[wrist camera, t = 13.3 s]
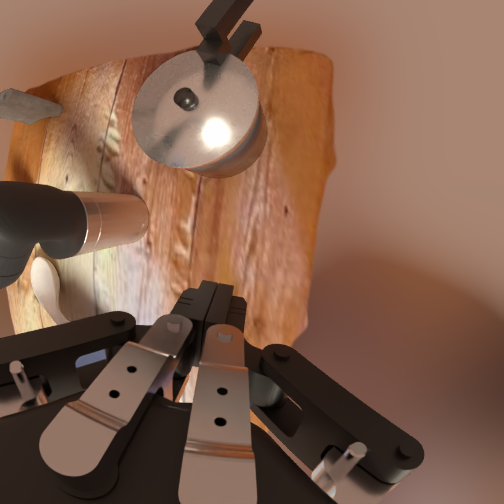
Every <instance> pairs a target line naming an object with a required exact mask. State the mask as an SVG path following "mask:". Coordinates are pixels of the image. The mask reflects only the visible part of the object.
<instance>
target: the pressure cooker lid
mask: <svg viewBox="0 0 504 504" xmlns="http://www.w3.org/2000/svg"><path fill="white" fill-rule="evenodd" d="M253 1H254V0H213V1H212V3H211V4H210V5H209V6H208V7H207V9H206V10H205V11H204V12H203V14H202V15H201V16H200V18H199V19H198V20H197V22H196V23H195V25H196V26H197V28H198V30H199V31H200V33H201V35H202V36H203V38H204V40H203V41H202V42H201V44H200V45H199V47H198V48H197V50H193V51H188V52H185V53H182V54H179V55H177V56H175V57H173V58H171V59H169V60H167V61H166V62H165V63H163V64H162V65H160V66H159V67H158V68H157V69H156V70H155V71H154V72H153V73H152V74H151V75H150V76H149V77H148V78H147V79H146V81H145V82H144V84H143V85H142V87H141V88H140V90H139V92H138V94H137V97H136V100H135V102H134V107H133V112H132V127H133V132H134V135H135V138H136V140H137V142H138V145H139V146H140V147H141V149H142V150H143V151H144V152H145V153H146V154H147V155H148V156H149V157H150V158H152V159H153V160H155V161H157V162H159V163H161V164H164V165H167V166H170V167H174V168H179V169H194V168H200V167H205V166H208V165H211V164H213V163H215V162H217V161H220V160H222V159H223V158H225V157H226V156H228V155H229V154H231V153H232V152H233V151H234V150H236V149H237V148H238V147H239V146H240V145H241V144H242V143H243V141H244V140H245V139H246V138H247V136H248V135H249V133H250V132H251V130H252V128H253V126H254V124H255V121H256V119H257V115H258V111H259V92H258V88H257V85H256V82H255V79H254V76H253V75H252V73H251V71H250V70H249V68H248V67H247V66H246V65H245V64H244V63H243V62H242V61H241V60H240V59H238V58H237V57H235V56H233V55H231V54H229V53H230V51H231V50H232V48H231V46H230V43H229V41H228V39H227V36H228V34H229V33H230V31H231V30H232V29H233V27H234V26H235V24H236V23H237V22H238V20H239V19H240V18H241V16H242V15H243V14H244V12H245V11H246V10H247V8H248V7H249V6H250V4H251V3H252V2H253Z"/></svg>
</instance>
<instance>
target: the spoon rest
mask: <svg viewBox="0 0 504 504" xmlns="http://www.w3.org/2000/svg"><path fill="white" fill-rule="evenodd" d="M31 283H32V287H33V290H34V293H35V295H36V297H37V299H38V300H39V302H40V303H41V305H42V306H43V307H44V308H45V310H46V311H47V312H48V314H49V315H50V316H51V318H52V319H53V320H54V321H55V322H56V324H57V325H60V324H64V323H68V322H70V321H69V320H67V319H66V318H65V317H64V316H63V315H62V313H61V311H60V309H59V304H58V301H59V292H60V280H59V276H58V274H57V271H56V269H55V267H54V266H53V265H52V263H51V262H50V261H49V260H47V259H46V258H44V257H41V256H39V257H36V258H35V259H34V261H33V263H32V266H31Z"/></svg>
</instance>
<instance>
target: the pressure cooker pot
mask: <svg viewBox="0 0 504 504" xmlns="http://www.w3.org/2000/svg"><path fill="white" fill-rule="evenodd" d="M261 34H262V31H261V27H260V24H257V23H254V22H250V21H245V20H243V22H242V23H241V24H240V26H239V27H238V29H237V30H236V31H235V32H234V34H233V36H232V37H231V38H230V40H229V43H230V46H231V48H232V50H231V51H230V53H229V54H231V55H233V56H235V57H237V58H238V59H240V60H241V61H242V62H243V61H244V59H245V58H246V56H247V55H248V53H249V52H250V50H251V49H252V47H253V46H254V44H255V43H256V41H257V40H258V38H259V37H260V35H261ZM266 139H267V123H266V120H265V116H264V113H263V110H262V107H261V104H260V101H259V111H258V115H257V119H256V121H255V124H254V126H253V128H252V130H251V132H250V133H249V135H248V136H247V138H246V139H245V140H244V141H243V143H242V144H241V145H240V146H239V147H238V148H237V149H236V150H234V151H233V152H232V153H231V154H229V155H228V156H226V157H225V158H223V159H222V160H220V161H217V162H215V163H213V164H211V165H208V166H205V167H200V168H194V169H186V170H188V171H191V172H194V173H197V174H199V175H202V176H205V177H209V178H226V177H231V176H234V175H236V174H239V173H241V172H243V171H244V170H246V169H247V168H249V167H250V166H251V165H252V164H253V163H254V162H255V161H256V160H257V159H258V157H259V156H260V154H261V153H262V151H263V149H264V146H265V143H266Z"/></svg>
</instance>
